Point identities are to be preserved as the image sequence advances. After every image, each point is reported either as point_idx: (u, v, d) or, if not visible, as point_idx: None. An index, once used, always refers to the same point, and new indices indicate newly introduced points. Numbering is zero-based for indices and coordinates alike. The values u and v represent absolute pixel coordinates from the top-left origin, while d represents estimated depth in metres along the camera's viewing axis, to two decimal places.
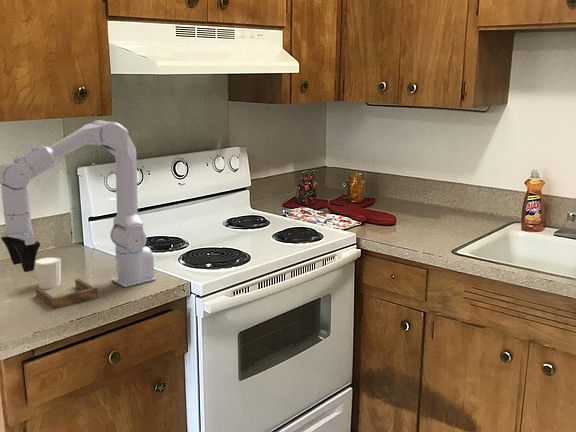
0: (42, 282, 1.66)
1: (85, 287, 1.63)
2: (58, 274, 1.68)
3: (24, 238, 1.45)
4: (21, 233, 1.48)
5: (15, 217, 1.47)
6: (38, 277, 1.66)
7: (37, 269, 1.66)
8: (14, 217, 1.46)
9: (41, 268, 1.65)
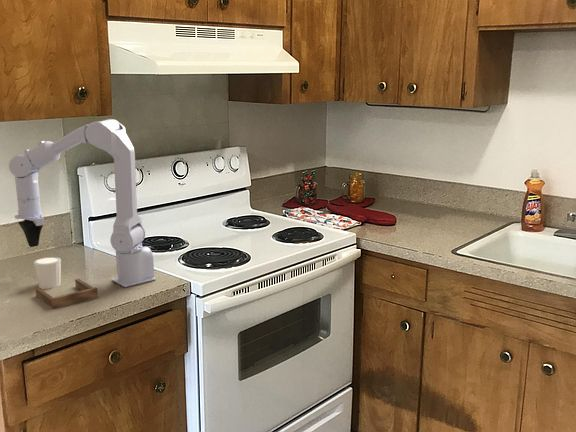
0: (42, 282, 1.66)
1: (85, 287, 1.63)
2: (58, 274, 1.68)
3: (35, 220, 1.67)
4: (32, 216, 1.70)
5: (27, 202, 1.69)
6: (38, 277, 1.66)
7: (37, 269, 1.66)
8: (26, 202, 1.69)
9: (41, 268, 1.65)
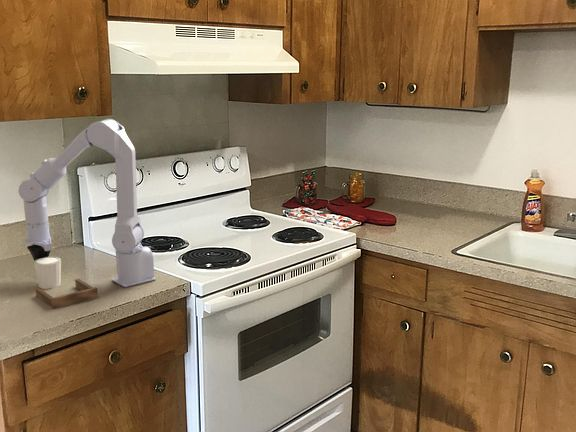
0: (42, 282, 1.66)
1: (85, 287, 1.63)
2: (58, 274, 1.68)
3: (43, 245, 1.65)
4: (41, 240, 1.68)
5: (36, 226, 1.66)
6: (38, 277, 1.66)
7: (37, 269, 1.65)
8: (35, 226, 1.66)
9: (41, 268, 1.65)
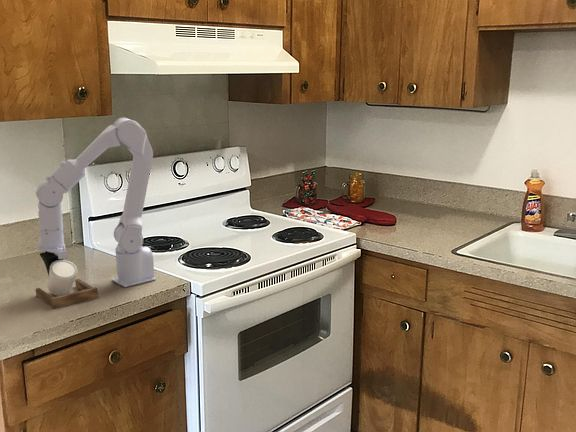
0: (56, 290, 1.60)
1: (85, 287, 1.63)
2: None
3: (58, 252, 1.56)
4: (54, 247, 1.59)
5: (50, 232, 1.58)
6: (53, 285, 1.59)
7: (54, 280, 1.58)
8: (49, 232, 1.58)
9: (60, 281, 1.57)
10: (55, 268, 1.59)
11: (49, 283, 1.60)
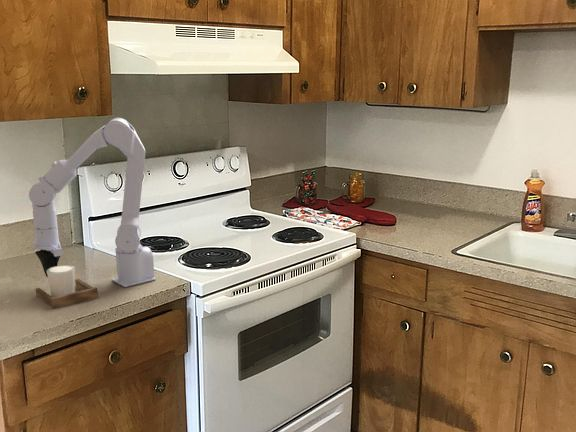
0: (58, 292, 1.59)
1: (85, 287, 1.63)
2: (73, 282, 1.61)
3: (53, 250, 1.60)
4: (50, 245, 1.63)
5: (45, 231, 1.62)
6: (53, 287, 1.59)
7: (53, 278, 1.58)
8: (44, 231, 1.62)
9: (58, 277, 1.58)
10: (52, 270, 1.60)
11: (50, 288, 1.60)
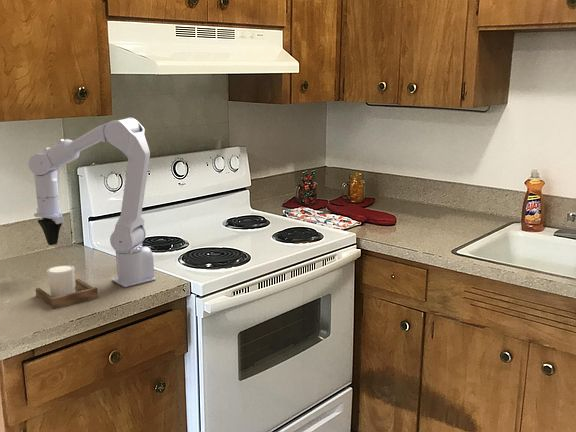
0: (58, 292, 1.59)
1: (85, 287, 1.63)
2: (73, 282, 1.62)
3: (54, 218, 1.67)
4: (51, 214, 1.70)
5: (46, 200, 1.68)
6: (53, 287, 1.59)
7: (52, 278, 1.58)
8: (46, 200, 1.68)
9: (57, 277, 1.58)
10: (52, 270, 1.60)
11: (50, 288, 1.60)
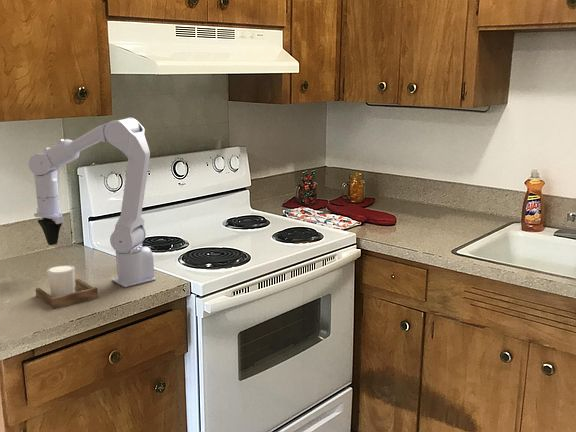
0: (58, 292, 1.59)
1: (85, 287, 1.63)
2: (73, 282, 1.62)
3: (54, 218, 1.67)
4: (51, 214, 1.70)
5: (46, 200, 1.68)
6: (53, 287, 1.59)
7: (53, 278, 1.58)
8: (46, 200, 1.68)
9: (58, 277, 1.58)
10: (52, 269, 1.60)
11: (50, 287, 1.60)
